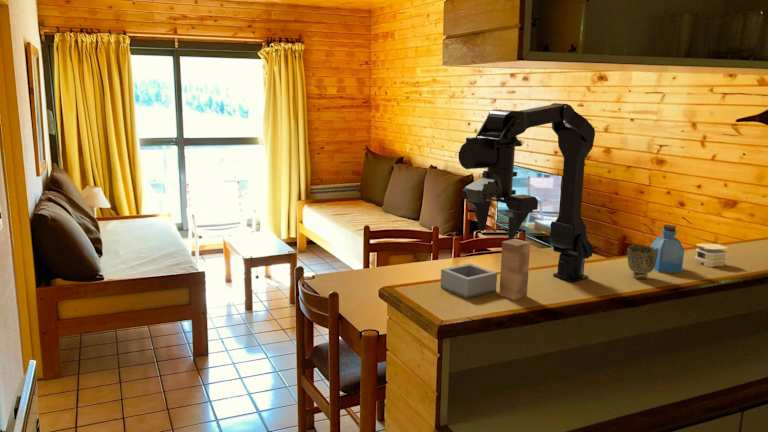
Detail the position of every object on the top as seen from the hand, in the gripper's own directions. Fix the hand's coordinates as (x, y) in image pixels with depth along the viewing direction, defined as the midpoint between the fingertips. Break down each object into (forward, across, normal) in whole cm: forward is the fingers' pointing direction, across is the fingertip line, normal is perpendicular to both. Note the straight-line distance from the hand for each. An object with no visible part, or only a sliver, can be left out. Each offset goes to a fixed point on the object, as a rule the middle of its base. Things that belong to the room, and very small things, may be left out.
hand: (496, 234), depth 143 cm
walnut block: (+15, +2, +5) cm, 16 cm away
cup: (+14, +10, +43) cm, 46 cm away
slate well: (+15, -7, -1) cm, 17 cm away
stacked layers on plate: (+14, +13, +71) cm, 73 cm away
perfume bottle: (+14, +9, +56) cm, 58 cm away
